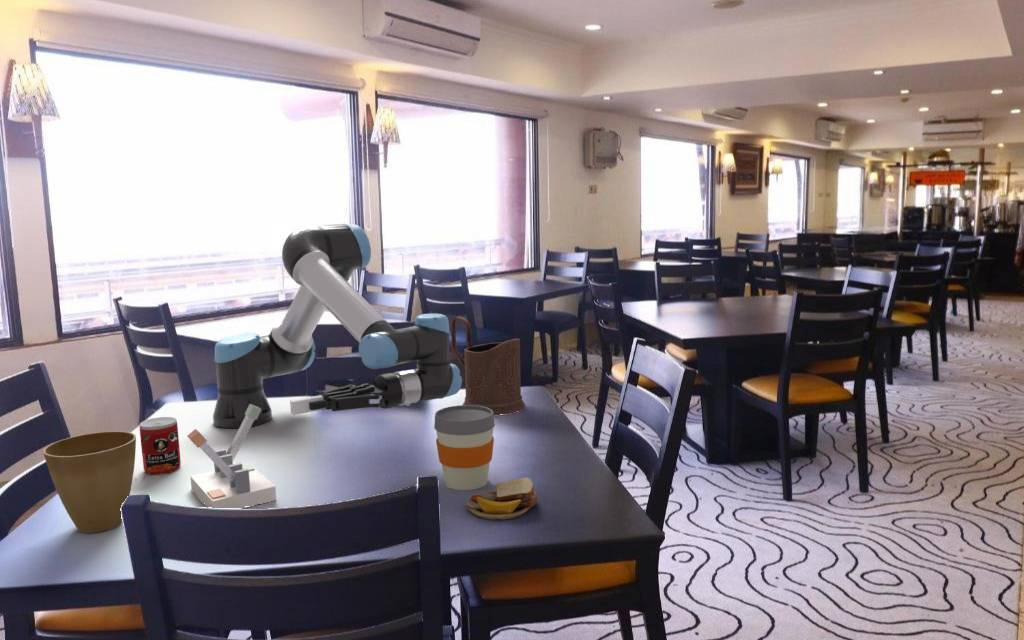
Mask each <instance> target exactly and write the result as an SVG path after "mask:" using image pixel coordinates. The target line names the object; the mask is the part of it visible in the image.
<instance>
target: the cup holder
mask: <svg viewBox="0 0 1024 640" xmlns="http://www.w3.org/2000/svg"><path fill="white" fill-rule="evenodd" d="M457 321H461V322H462V323H463V324H464V326H465V342H466V345H467V348H464V358H463V356H462V355H461V354H460V352H459V350H458V348H457V336H456V335H457V334H456V333H457V332H456V330H457V329H456V323H457ZM471 327H472V326H471V323H470V322H469V320H468V319H466V318H465V317H463V316H456V317H454V318H452V319H451V321H450V335H451V336H450V338H451V342H450V343H451V351H452V353H453V355H454V356H455V357H456V359H457V360H458V362H459V363H460V365H461V366H462V367H463V369H464V385H465V389H464V390H465V397H464V402H463V403H462V405H476V406H483V407H487V408H490V409H491V410H492V411H493V414H494V415H499V416H501V415H500V414H508V415H510V414H509V413H513V414H515V413H514V412H517V411H520V410H522V409H524V408H525V409H526V407H527V405H526V403H525V401H524V400H523V396H522V393H521V391H522V390H521V389H522V386H521V384H522V383H521V381H522V380H521V377H522V376H521V339H520V338H513V339H510V340H509V339H508V340H505V341H504V342H489V343H483V344H478V345H473V344H472V329H471ZM525 405H526V406H525ZM525 409H524V410H525ZM522 411H523V410H522ZM520 412H521V411H520ZM517 413H518V412H517Z"/></svg>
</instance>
